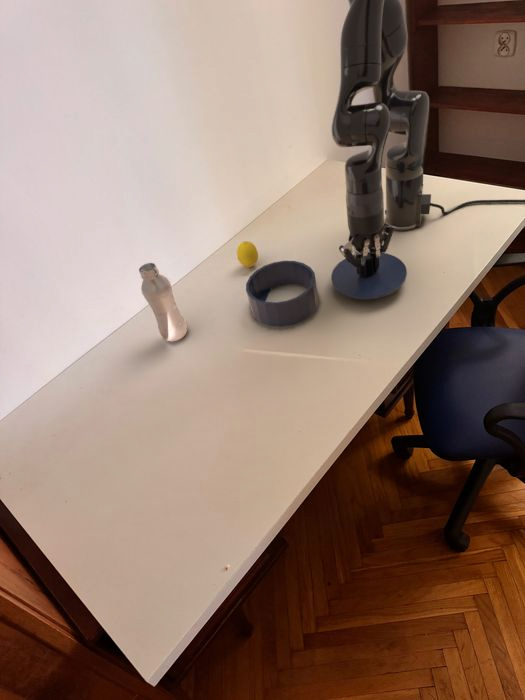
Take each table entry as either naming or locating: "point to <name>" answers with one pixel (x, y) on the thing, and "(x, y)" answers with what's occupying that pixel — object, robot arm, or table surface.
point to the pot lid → (370, 277)
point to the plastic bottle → (162, 303)
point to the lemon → (247, 254)
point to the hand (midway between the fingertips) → (368, 272)
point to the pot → (284, 310)
